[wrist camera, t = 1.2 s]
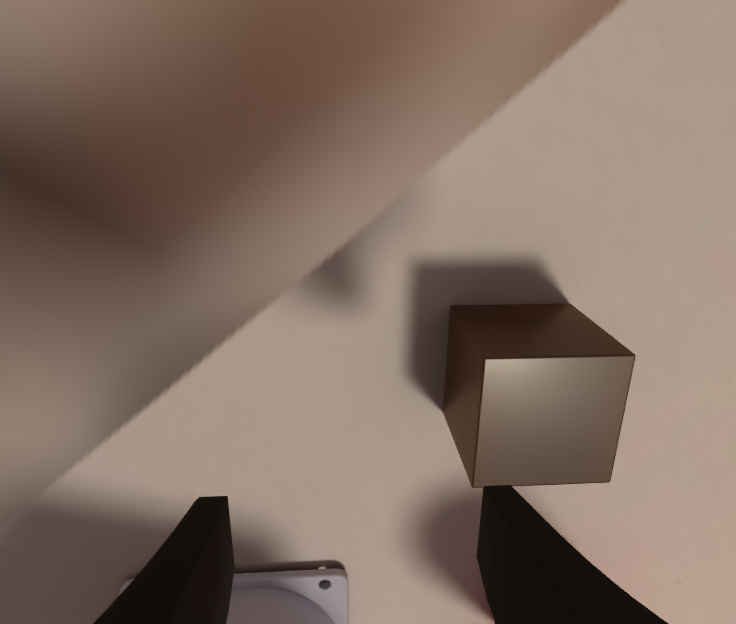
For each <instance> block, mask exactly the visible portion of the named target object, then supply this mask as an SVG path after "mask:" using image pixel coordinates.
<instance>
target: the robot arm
mask: <svg viewBox="0 0 736 624" xmlns="http://www.w3.org/2000/svg"><path fill="white" fill-rule="evenodd" d="M477 560H478V564H479V569H480V573H481V577H482V581H483V585H484V589H485V593H486V597H487V601H488V604H489V607H490V610H491V612H492V615H493V618H494V621H495V623H496V624H668V623H667V622H665V621H664V620H662V619H661V618H660V617H658V616H657V615H656V614H654V613H653V612H652V611H650V610H649V609H648V608H646V607H645V606H644V605H642V604H641V603H639V602H638V601H637V600H635V599H634V598H633V597H631V596H630V595H629V594H628V593H626V592H625V591H624V590H623V589H621V588H620V587H619V586H618V585H616V584H615V583H614V582H613V581H612V580H610V579H609V578H608V577H607V576H606V575H604V574H603V573H602V572H601V571H600V570H598V569H597V568H596V567H595V566H594V565H593V564H591V563H590V562H589V561H588V560H587V559H586V558H585V557H584V556H582V555H581V554H580V553H579V552H578V551H577V550H576V549H575V548H574V547H573V546H572V545H571V544H569V543H568V542H567V541H566V540H565V539H564V538H563V537H562V536H561V535H560V534H559V533H558V532H557V531H556V530H555V529H554V528H553V527H552V526H551V525H550V524H549V523H548V522H547V521H546V520H545V519H544V518H543V517H542V516H541V515H540V514H539V513H538V512H537V511H536V510H535V509H534V508H533V507H532V506H531V505H530V504H529V503H528V502H527V501H526V500H525V499H524V498H523V497H522V496H521V495H520V494H519V493H518V492H517V491H516V490H515V489H514V488H513V487H512V486H511V485H493V486H484V488H483V498H482V507H481V517H480V527H479V537H478V546H477ZM234 569H235V566H234V556H233V546H232V536H231V526H230V516H229V506H228V496H215V497H199V498H198V499H197V500H196V501H195V502H194V503H193V505H192V506H191V508H190V509H189V510H188V512H187V513H186V514H185V516H184V517H183V519H182V520H181V521H180V523H179V524H178V525H177V527H176V528H175V529H174V531H173V532H172V533H171V534H170V536H169V537H168V538H167V540H166V541H165V542H164V543H163V545H162V546H161V547H160V548H159V550H158V551H157V552H156V553H155V555H154V556H153V557H152V558H151V559H150V561H149V562H148V563H147V564H146V566H145V567H144V568H143V569H142V570H141V572H140V573H139V574H138V575H137V576H136V577H135V579H129V580H127V581H125V582H124V583H123V585H122V587H121V589H120V595H119V596H118V597H117V599H116V600H115V601H114V602H113V603H112V604H111V605H110V606H109V607H108V608H107V610H106V611H105V612H104V613H103V614H102V615H101V616H100V617H99V618H98V619H97V620H96V621H95V622H94V623H93V624H348V575H347V573H346V572H345V571H344V570H342V569H317V570H297V571H277V572H256V573H236V574H234ZM322 580H328V581H326V582H322Z"/></svg>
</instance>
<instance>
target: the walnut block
mask: <svg viewBox="0 0 736 624" xmlns="http://www.w3.org/2000/svg"><path fill="white" fill-rule="evenodd" d="M634 361H635V354H634V353H632V352H631V351H630V350H628V349H627V348H626V347H625V346H623V345H622V344H621V343H620V342H618V341H617V340H616V339H615V338H613V337H612V336H611V335H609V334H608V333H607V332H606V331H604V330H603V329H602V328H601V327H599V326H598V325H597V324H595V323H594V322H593V321H592V320H590V319H589V318H588V317H587V316H585V315H584V314H583V313H582V312H580V311H579V310H578V309H576V308H575V307H574V306H573V305H571V304H517V305H452V306H451V307H450V319H449V334H448V349H447V364H446V379H445V394H444V409H443V413H444V416H445V419H446V421H447V424H448V426H449V429H450V432H451V434H452V437H453V439H454V442H455V445H456V447H457V450H458V452H459V455H460V457H461V460H462V463H463V465H464V468H465V470H466V473H467V476H468V478H469V481H470V483H471V486H472V488H482V487H484V486H493V485H511V486H532V485H557V484H582V483H607V482H610V480H611V475H612V470H613V465H614V460H615V455H616V450H617V445H618V440H619V435H620V430H621V425H622V420H623V415H624V410H625V405H626V400H627V395H628V390H629V386H630V381H631V376H632V371H633V366H634Z"/></svg>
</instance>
